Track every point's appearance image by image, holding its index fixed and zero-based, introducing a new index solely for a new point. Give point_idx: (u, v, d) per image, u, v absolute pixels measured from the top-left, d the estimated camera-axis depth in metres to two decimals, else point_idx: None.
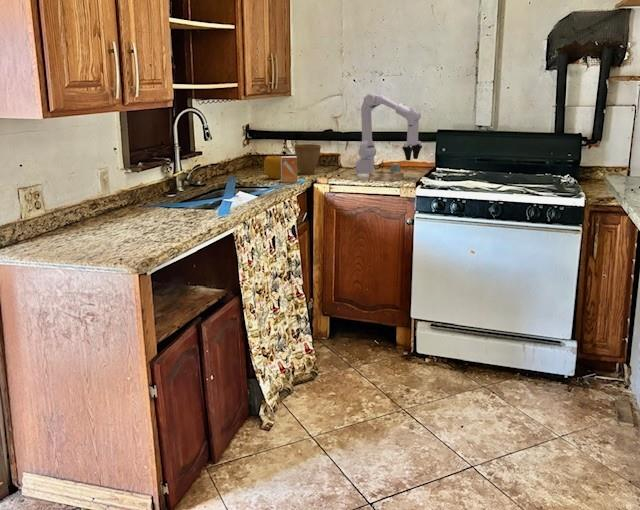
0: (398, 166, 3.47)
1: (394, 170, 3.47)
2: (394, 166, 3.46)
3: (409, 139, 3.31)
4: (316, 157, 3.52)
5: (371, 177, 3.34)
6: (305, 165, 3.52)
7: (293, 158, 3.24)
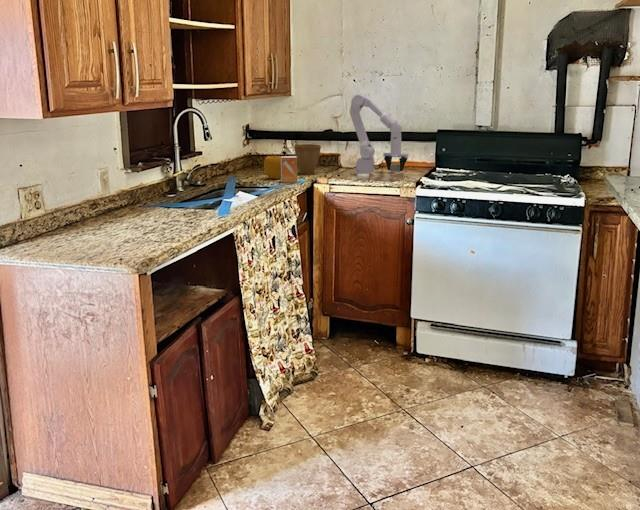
0: (398, 166, 3.47)
1: (394, 170, 3.47)
2: (394, 166, 3.46)
3: None
4: (316, 157, 3.52)
5: (371, 177, 3.34)
6: (305, 165, 3.52)
7: (293, 158, 3.24)
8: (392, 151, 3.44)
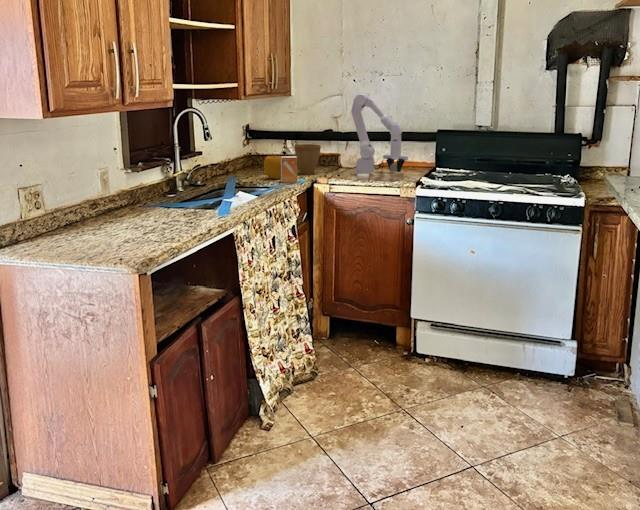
0: None
1: (394, 170, 3.47)
2: (394, 166, 3.46)
3: None
4: (316, 157, 3.52)
5: (371, 177, 3.34)
6: (305, 165, 3.52)
7: (293, 158, 3.24)
8: (392, 153, 3.44)
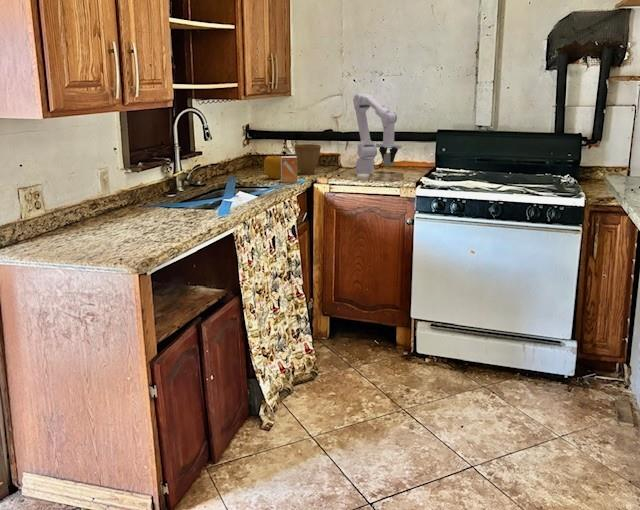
0: None
1: (387, 160, 3.33)
2: (388, 155, 3.33)
3: None
4: (316, 157, 3.52)
5: (371, 177, 3.34)
6: (305, 165, 3.52)
7: (293, 158, 3.24)
8: (385, 142, 3.31)
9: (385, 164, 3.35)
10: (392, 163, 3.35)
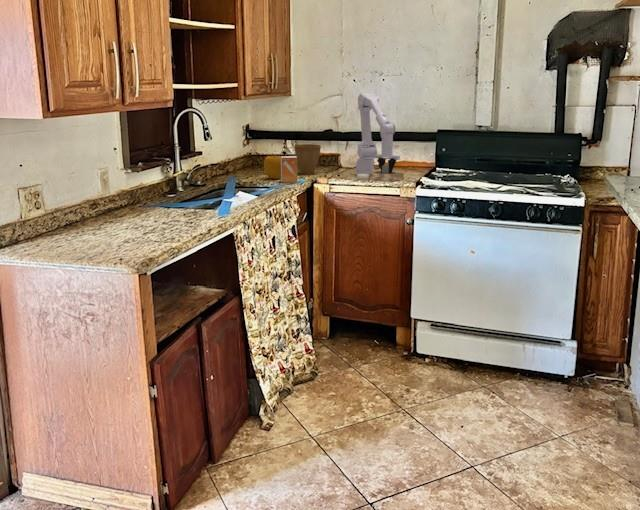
0: None
1: (386, 171, 3.33)
2: (386, 166, 3.33)
3: None
4: (316, 157, 3.52)
5: (371, 177, 3.34)
6: (305, 165, 3.52)
7: (293, 158, 3.24)
8: (383, 153, 3.30)
9: None
10: (390, 174, 3.35)
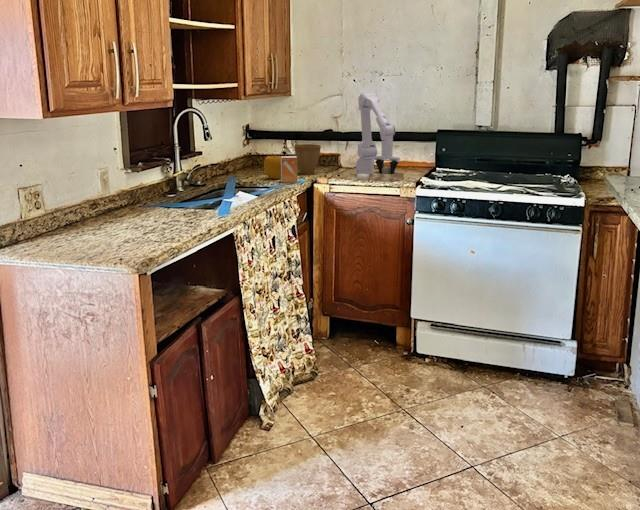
0: (390, 169, 3.34)
1: (386, 173, 3.33)
2: (386, 169, 3.33)
3: None
4: (316, 157, 3.52)
5: (371, 177, 3.34)
6: (305, 165, 3.52)
7: (293, 158, 3.24)
8: (383, 154, 3.30)
9: None
10: None
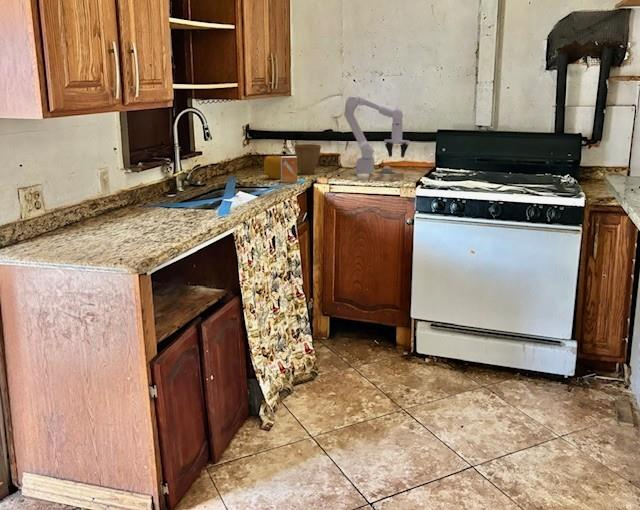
0: (390, 169, 3.34)
1: None
2: (386, 169, 3.33)
3: None
4: (316, 157, 3.52)
5: (371, 177, 3.34)
6: (305, 165, 3.52)
7: (293, 158, 3.24)
8: (393, 137, 3.45)
9: None
10: None
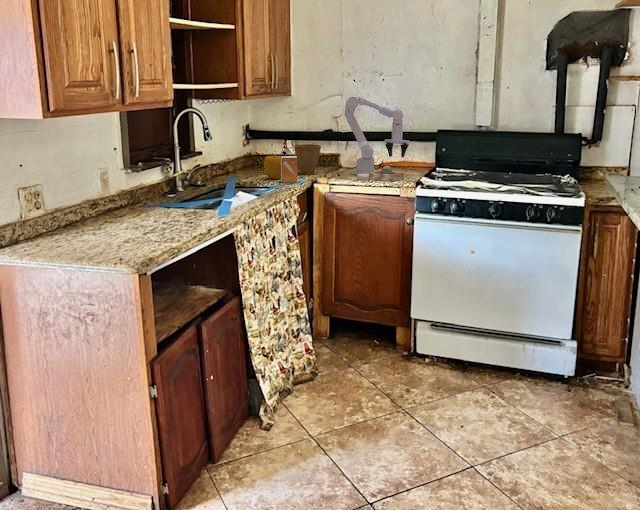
0: (390, 169, 3.34)
1: None
2: (386, 169, 3.33)
3: None
4: (316, 157, 3.52)
5: (371, 177, 3.34)
6: (305, 165, 3.52)
7: (293, 158, 3.24)
8: (393, 137, 3.45)
9: None
10: None
